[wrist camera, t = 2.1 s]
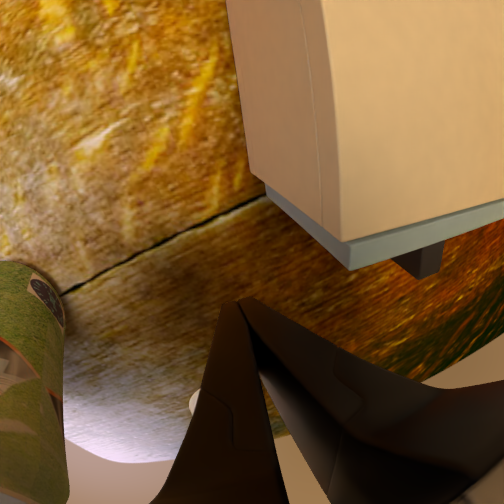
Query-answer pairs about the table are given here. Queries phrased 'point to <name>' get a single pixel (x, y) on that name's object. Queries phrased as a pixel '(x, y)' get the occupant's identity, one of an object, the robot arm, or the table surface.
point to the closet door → (398, 237)
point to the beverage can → (31, 389)
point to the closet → (373, 106)
